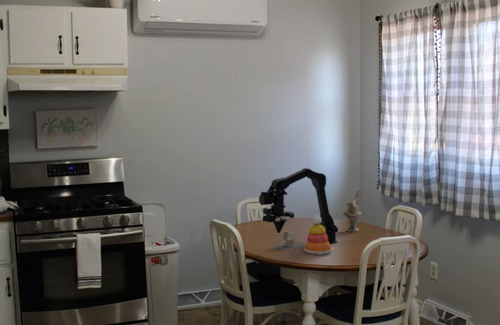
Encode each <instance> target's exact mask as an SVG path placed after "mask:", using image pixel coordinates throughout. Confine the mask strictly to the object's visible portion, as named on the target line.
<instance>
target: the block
mask: <svg viewBox="0 0 500 325" xmlns="http://www.w3.org/2000/svg"><path fill="white" fill-rule="evenodd" d="M294 232H295V231H291V230H282V245H283V246H284V247H289V248H290V247H294V242H295V233H294Z"/></svg>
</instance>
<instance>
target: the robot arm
mask: <svg viewBox="0 0 500 325" xmlns="http://www.w3.org/2000/svg"><path fill="white" fill-rule="evenodd" d="M305 178H307V179H308V180H309V179H310V181H311V183H312V186H313V187H314V189H315V192H316V198H317V204H318V208H319V216H320V217H321V223H320V225H322V226H323V227H324V228H325V230H326V234H327V236H328V242H329V243H330V245H331V244H332V245H333V244H335V243H336V244H337V243H338V241H337V239H336V237H337V236H336V234H337V233H338V231H339V227H338V226H336V224H335V222H334V218H333V217H332V215H331V213H330V211H329V206H328V205H329V204H328V199H327V193H326V189H325V188H326V186H327V176H326V175H325V173H321V172H317V171H314V170H312V169H310V168H307V167H304V168H302V169H300V170H299V171H296V172H294V173H291V174H290V175H288V176H284V177H279V178H274V179H273V180H271V183H270V184H271V185H270V186H269V188H268V189H267V191H261V192H260V195H259V198H258V203H259V204H260V206H266V205H271V206H270V208H268V207H264V208H262V213H263V216H262V222H267V223H273V224H274V227H275V230H276V233H278V234H280V233H281V231H282V229H283V227H284V225H285V223H286V222H287V221H288V219H286V218H288V217H289V219H294V218H295V213H294V212H293V211H288V210H287V211H285V208H287V207H286V204H285V196H287V195H288V192H286V189H287V188H289V186H291V185H292V184H294V183H296V182H299V181H300V180H301V181H302V179H305Z"/></svg>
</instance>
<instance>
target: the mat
mask: <svg viewBox="0 0 500 325" xmlns="http://www.w3.org/2000/svg"><path fill="white" fill-rule="evenodd" d="M306 243H307V242H303V241H298V240H294V247H290V248H289V247H284V246H283V244H278V245H275V246H272V248H274V249H277V250H278V249H279V250H282V251H288V250H289V251H290V250H293V249H296V248H302V247H304V246H306Z"/></svg>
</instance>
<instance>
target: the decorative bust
mask: <svg viewBox="0 0 500 325" xmlns="http://www.w3.org/2000/svg"><path fill="white" fill-rule="evenodd" d="M359 193H360V190H357V191H356V193H355V195H354V200H353V201H352V200H350V201H349V202H346V209H345V211H344V212H343V213H342V215H343V216H344V217H346V218H347V220H348V224H349V227H347V228H346V231H347V232H349V231H357V232H359V231H360V230H359V228H357V227H356V224H357V222H358V221H359V219H360V216H362V212H361V211H359V208H358V205H359V202H360V201H361V200H360V199H358V198H359V197H361V196H362V194H363V193H362V192H361V193H360V194H359Z"/></svg>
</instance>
